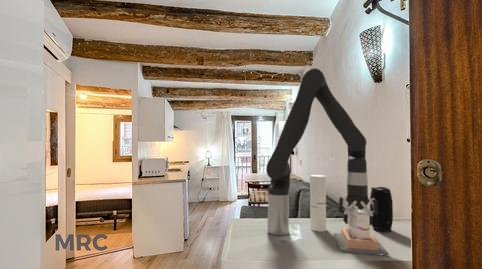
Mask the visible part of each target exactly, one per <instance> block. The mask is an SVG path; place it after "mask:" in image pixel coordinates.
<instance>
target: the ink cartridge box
mask: <svg viewBox="0 0 482 269" xmlns="http://www.w3.org/2000/svg"><path fill="white" fill-rule="evenodd" d="M350 208H351V207H350ZM353 208H355V209H353ZM353 208H352V209H351V210H350V211H349V212H348V213H347V215H348V224H347V228H348V234H349V236H350V238H351V239H363V240H370V233H371V231H370V228H371V226H370V221H369V215H368V213H367V212H364V211H362V210H360V209H358V207H357V206H354V207H353Z"/></svg>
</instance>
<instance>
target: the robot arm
mask: <svg viewBox="0 0 482 269" xmlns="http://www.w3.org/2000/svg"><path fill="white" fill-rule="evenodd" d="M315 98H316V100H317V101H318V103H320V105H321V107H322V108H323V110H324V112H325V113H326V115H327V117H328V118H329V120H330V122H331V123H332V125H333V126H334V128H335V129H336V130H337V132H338V133H340V135H341V138H342V139H343V140H344V142H345V144H346V146H347V157H348V158H347V172H346V173H347V174H346V197H342V196H339V197H338V205H337V207H338V208H337V209H338V212H339V213H341V214H342V216H343V220H342V221H343V222H344V223H345V224H346V225H348V212H349V211H350V210H351V209H354V210H355V208H353V207H354V206H357V207H358V210H360V211H362V210H365V211H366V212H365V213H366V214H368V215H369V221H370V227H371V226H372V224H373V215H378V207H377V200H376V199H374V198H373V199H370V198H369V190H368V189H369V188H368V186H369V185H368V183H369V182H368V172H367V168H368V167H367V165H368V164H367V160H366V149H367V148H366V146H367V139H366V137H365V135H363V133H362V132H361V131H360V130H359V128H358V127H357V125H356V124H355V123H354V121H353V119H352V118H351V116H350V115H349V113H348V112H347V110H345V108H344V107H343V106H342V105H341V104H340V102H339V100H337V99H336V97H335V96H334V94H333V93H332V91H331V90H330V88H329V84H328V83H327V81H326V77H325V75H324V73H323V71H322V70H320V69H319V68H314V67H313V68H309V69H307V71H306V72H305V73H304V74H303V76H302V78H301V82H300V85H299V89H298V92H297V95H296V97H295V100H294V102H293V105H292V106H291V109H290V111H289V114H288V115H287V118H286V120H285V122H284V125H283V128H282V131H281V133H280V136H279V138H278V140H277V145H276V147H275V148H274V151H273V153H272V155H271V156H270V158H269V160H268V162H267V164H266V169H265V172H266V174H267V176H268V177H269V178H270V183H269V186H268V189H267V190H268V195H267V198H268V199H267V200H268V202H267V234H271V235H275V236H285V235H288V234H289V232H290V230H289V229H290V221H289V220H290V218H289V217H290V216H289V215H290V209H289V208H290V206H289V204H290V200H289V198H290V197H289V196H290V195H289V192H290V188H291V166H290V163H289V160H290V157H291V154H292V152H293V151H294V150H295V148H296V147H297V145H298V144H299V142H300V141H301V139H302V137H303V135H304V133H305V130H306V129H307V126H308V123H309V120H310V116H311V110H312V105H313V103H314V101H315ZM345 202H347V205H346V206H345V208H344V209H343V206H344V205H343V204H345ZM370 203H371V204H372V207H373V211H370V207H368V205H369V204H370ZM350 207H351V208H350Z"/></svg>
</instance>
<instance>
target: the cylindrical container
mask: <svg viewBox="0 0 482 269" xmlns="http://www.w3.org/2000/svg"><path fill="white" fill-rule="evenodd" d="M326 178H327V176H326V175H323V174H311V175H309V195H310V197H309V201H310V202H309V204H310V206H309V208H310V209H309V210H310V215H309V216H310V220H309V221H310V223H309V224H310V227H309V228H310V230H311V231H314V232H327V190H326V189H327V188H326V187H327V186H326V184H327V183H326V182H327V179H326Z"/></svg>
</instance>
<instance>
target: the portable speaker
mask: <svg viewBox="0 0 482 269" xmlns="http://www.w3.org/2000/svg"><path fill="white" fill-rule="evenodd" d="M391 192H392V191H391V190H390V188H388V187H386V186H385V187H384V186H378V187H371V191H370V196H369V199H373V198H374V199H376V200H377V207H378V215H373V224H371V226H372V227H371V228H373V230H374V231H376V232H380V233H383V232H384V231H388V232H389V233H390V232H392V227H393V220H394V212H393V209H394V208H393V207H394V206H393V205H394V204H393V197H392V193H391ZM369 210H370V211H373V207H372V204H371V203H370V202H369Z"/></svg>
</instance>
